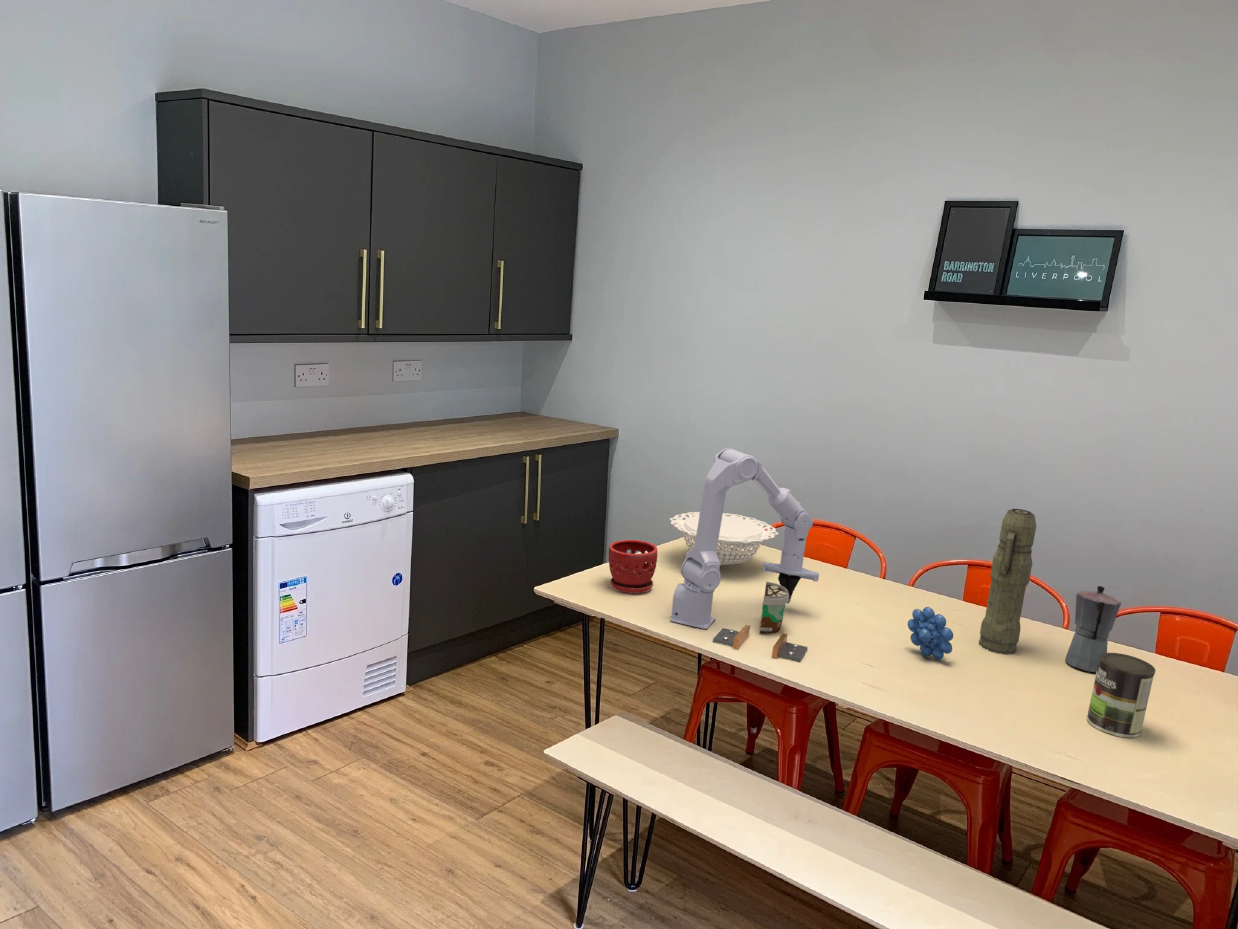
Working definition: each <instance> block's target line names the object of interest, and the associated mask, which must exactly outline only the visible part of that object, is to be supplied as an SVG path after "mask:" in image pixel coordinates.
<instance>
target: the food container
mask: <svg viewBox="0 0 1238 929" xmlns="http://www.w3.org/2000/svg"><path fill="white" fill-rule="evenodd" d="M788 602H789V593H788V590H787V589H786V588H785V587H783V586H781V585H780V584H778V583H775V582H770V581H765V590H764V596H763V601H762V610H761V617H760V618H761V619H760V628H759V634H761V635H762V634H763V635H765V634H766V635H772V634H777V633H779V632H780V631H781V628H782V625H783V619H784V614H785V611H786V607H787V606H786V605H787V604H789V603H790V602H789V603H788Z"/></svg>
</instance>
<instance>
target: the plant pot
mask: <svg viewBox="0 0 1238 929" xmlns="http://www.w3.org/2000/svg"><path fill="white" fill-rule="evenodd" d="M628 550H629V551H630V553H628V552H627V551H628ZM637 551H638V552H640V553H636V552H637ZM657 563H658V548H657V546H656V545H655V544H654V543H651V542H648V541H645V540H636V539H623V540H617V541H613V542H612V543H610V544H609V545H608V564H609V565H608V567H609V571H610V575H611V579H610V584H611V586H612V587H613V588H614V589H615V590H617V591H619V592H622V593H626V594H627V593H628V594H633V595H636V594H642V593H646V592H648V591H650V590H651V589H652V588H653V586H654V581H653V580H652V578H653V576H654V574H655V571H656V569H657Z"/></svg>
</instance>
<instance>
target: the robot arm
mask: <svg viewBox="0 0 1238 929" xmlns="http://www.w3.org/2000/svg"><path fill="white" fill-rule="evenodd" d="M750 480H752V482H754V483H755V484H756V485H757V486H758V487H759V488H760V489H761V490H762V491H763V493H765V494H766V495H767V496H768V497H767V503H768V505H769V506H770V507H771V508H772V509H773V510H774V511H775V512H776V514H778V516H779V517H780V521H781V523H782V524H783V525H784V530H783V538H782V547H781V556H780V563H773V562H766V561H765V562H763V563H762V569H761V571H762V572H765V573H766V572H770V573H774V574H779V575H778V577H777V580H778V582H779V585H781V586H783V587H785V588H786V589H787V590H788V593H789V602H788V603H787V604H789V603H791V599H792V596H793V594H794V591H795V589H796V587H797V585H798V583H799V582H800V581H801V579H805V580H810V581H813V582H816V583H817V582H818V581H819V578H820V572H818V571H817V572H816V571H813V570H809V569H806V568H804V567H803V565H804V556H805V551H806V550H805V549H806V542H807V541H806V540H807V538H808V535H809V531H810V529H811V528H812V527H813V525H814V520H813V518H812V514H811V512H810V511H808V510H806V509H804V508H803V507H802V503H801V501H798V500H796V498H795V497H794V496H793V495H792V494H793V491H792V490H791V489H790V488H786V487H779V486H778V485H777V483H776V482H775V481H774V480H773V479H772V477H771V476H770V474H769V473H768V472H767V470H766V469H765V468H764V467H763V464H762V463H761V462H760V461H759V460H758V459H757V458H756V457H755V456H753V455H751V454H746V453H744V452H741V451H739V450H736V449H734V448H732V447H727V448H726V447H725V448H724V449H722V450H721V451H719V452H718V453H716V454H715V455H714V460H713V465H712V466H711V469H709V472H708V473H707V475H706V476H705V480H704V485H703V491H702V492H703V493H702V499H701V505H700V510H699V512H700V514H699V515H700V516H699V522H698V528H697V534H696V540H695V543H694V544H695V546H693V547H692V548H693V549H690V550H687V552H686V554H685V555H686V556H685V559H684V561H683V562H682V564H681V567H680V574H681V576H682V578H684V579H683V580H684V581H683V583H677V584H676V586H675V588H674V592H673V596H672V605H671V606H672V607H671V616H670V618H669V621H670V622H672V623H676V624H681V625H686V626H690V627H695V628H699V629H703V630H707V629H708V628H709V627H710V626H711V625H712V624H713V623H714V622H715V621H716V617H713V616H712V608H713V607H712V606H713V599H714V592H715V590H716V589H717V588H718V587H719V586H720V584H721V581H722V580H721V579H722V574H721V571H720V567H721V566H720V561H719V559H718V556H717V553H716V551H717V549H718V548H717V545H718V544H719V543H718V539H719V533H720V527H721V521H722V515H723V513H724V509H725V502H726V497H727V491H728V490H729V489H731V488H732V487H734V486H737V485H740V484H742V483H746V482H748V481H750Z"/></svg>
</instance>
